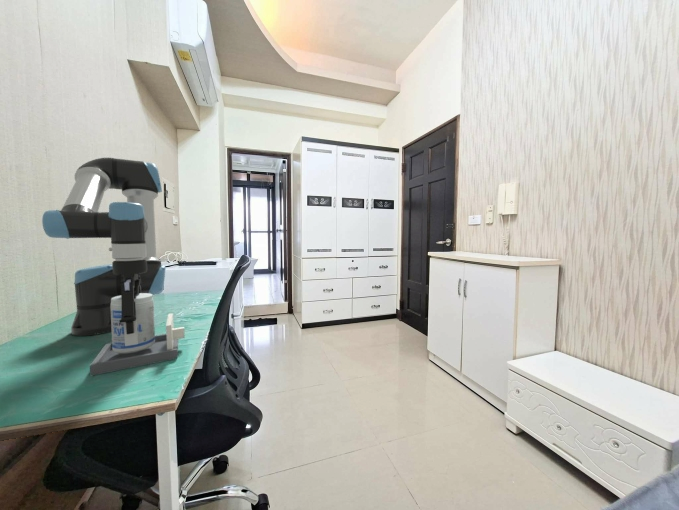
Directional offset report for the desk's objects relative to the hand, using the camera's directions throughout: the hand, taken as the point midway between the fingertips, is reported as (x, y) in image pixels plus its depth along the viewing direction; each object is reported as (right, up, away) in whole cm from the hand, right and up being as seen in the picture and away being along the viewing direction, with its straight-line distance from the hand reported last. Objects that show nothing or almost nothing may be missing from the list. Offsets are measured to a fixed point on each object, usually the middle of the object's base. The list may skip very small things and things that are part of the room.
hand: (134, 338), depth 75 cm
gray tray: (+1, -5, +1) cm, 5 cm away
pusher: (+9, -3, +5) cm, 11 cm away
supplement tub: (0, -3, 0) cm, 3 cm away
